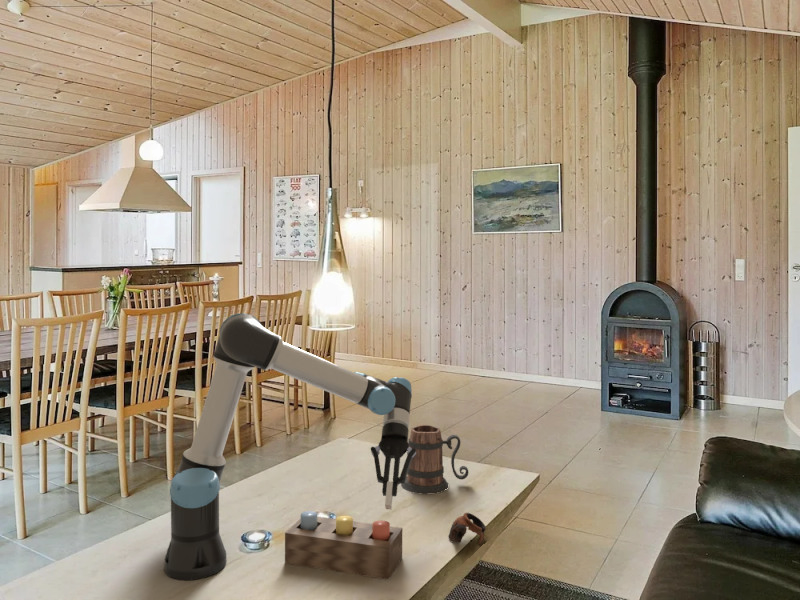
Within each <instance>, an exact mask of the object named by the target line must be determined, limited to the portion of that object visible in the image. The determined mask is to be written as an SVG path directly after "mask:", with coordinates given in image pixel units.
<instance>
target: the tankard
mask: <svg viewBox="0 0 800 600" xmlns="http://www.w3.org/2000/svg"><path fill="white" fill-rule="evenodd" d="M455 439H456V440H457V444H456V445H455V448H454V450H453V452H452V454H451V459H450V460H451V461H450V464H451V469H452V473H453V474H454V476H455V478H457V479H459V480H465V479H466V478H467V477H468V476H469V469H468V467H467V466H465V465H462V466H460V467H459V473H460V474H461V475H460V474H458V473H457V471H456V469H455V459H456V454H457V453H458V451H459V449H460V447H461V442H462V441H461V439H460V437H459V436H458V435H457V434H451V435H450V436H448V437H447V439H446V440H443V438H442V432H441V428H439V427H436V426H434V425H429V424H428V425H427V424H422V425H418V426H417V425H416V426H413V427H412V428H411V429H410V435H409V437H408V444H409V447H410V448H412V449H413V448H414V449H416V456H415V457H414V458H413V460H412V462H411V465H410V468H409V471H408V474H407V477H406V480H405V482H404V484H400V487H401V488H402V489H403V490H405V491H407V492H409V493H413V492H414V493H413V494H419V493H422V494H421V495H428V494H427V493H435V494H438V493H437V492H440V493H442V492H441V491H443V492H445V491H446V490H445V489H447V488H448V484H449V483H448V482H447V479H446V478H445V477H444V472H445V471H444V465H443V459H444V458H443V445H446V446H447V448H448V449H449V450H452V449H453V447H452V440H455ZM463 470H465V472H464V471H463ZM448 489H449V488H448ZM448 489H447V490H448ZM444 490H445V491H444Z"/></svg>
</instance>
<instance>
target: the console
mask: <svg viewBox="0 0 800 600" xmlns="http://www.w3.org/2000/svg"><path fill="white" fill-rule="evenodd" d="M372 524H373V523H368V522H363V521H361V522H360V521H354V520H353V533H352V534H351V536H348V535H341V534H336V518H330V517H323V516H322V517H321V516H317V528H316V529H315V530H314V531H312V530H305V529H301V518H299V519H298V521H296V522H295V523H294V524H293V525H292V526H291V527H289V528H288V530H286V531H285V532H284V564H288V563H289V565H293V566H294V565H296V566H301V567H308V568H314V569H320V570H327V571H331V572H340V573H346V574H351V575H359V576H365V577H370V578H376V579H383V580H390V578H391V577H392V575H393V573H394V571H395V570H396V569H397V567H398V565H399V564H400V562H401V560H402V558H403V527H399V526H392V525H391V526H390V539H389V540H388V541H383V540H376V539H372Z"/></svg>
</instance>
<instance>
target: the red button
mask: <svg viewBox="0 0 800 600" xmlns="http://www.w3.org/2000/svg"><path fill="white" fill-rule="evenodd" d="M371 524H372V539H376V540H383V541H388V540H389V539H390V525H391V523H390V522H389V521H386V520H383V519H382V520H380V519H379V520H375V521H374V522H372V523H371Z"/></svg>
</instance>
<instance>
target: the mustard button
mask: <svg viewBox="0 0 800 600" xmlns="http://www.w3.org/2000/svg"><path fill="white" fill-rule="evenodd" d="M335 519H336V534H341V535H348V536H351V534H352V533H353V521H354V517H352V516H350V515H341V516H337V517H336V518H335Z"/></svg>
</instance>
